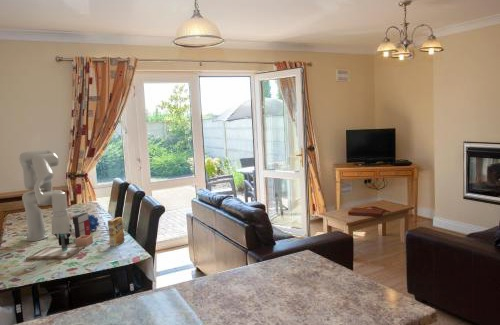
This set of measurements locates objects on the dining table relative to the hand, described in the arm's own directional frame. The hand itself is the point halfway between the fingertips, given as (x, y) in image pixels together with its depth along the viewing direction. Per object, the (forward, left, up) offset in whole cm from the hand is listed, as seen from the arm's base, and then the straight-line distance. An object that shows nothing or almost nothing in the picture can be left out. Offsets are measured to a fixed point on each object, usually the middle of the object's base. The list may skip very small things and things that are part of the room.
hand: (64, 244), depth 220 cm
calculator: (-4, +27, -5) cm, 28 cm away
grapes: (-6, +41, -5) cm, 42 cm away
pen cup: (+5, +13, -4) cm, 15 cm away
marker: (0, 0, -3) cm, 3 cm away
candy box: (+26, +13, -5) cm, 29 cm away
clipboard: (-3, -3, -4) cm, 6 cm away
